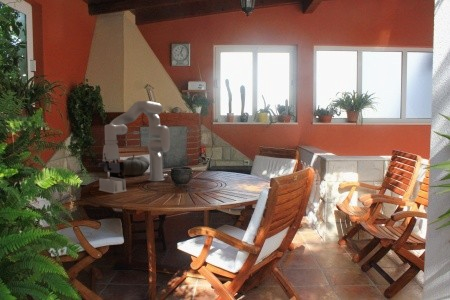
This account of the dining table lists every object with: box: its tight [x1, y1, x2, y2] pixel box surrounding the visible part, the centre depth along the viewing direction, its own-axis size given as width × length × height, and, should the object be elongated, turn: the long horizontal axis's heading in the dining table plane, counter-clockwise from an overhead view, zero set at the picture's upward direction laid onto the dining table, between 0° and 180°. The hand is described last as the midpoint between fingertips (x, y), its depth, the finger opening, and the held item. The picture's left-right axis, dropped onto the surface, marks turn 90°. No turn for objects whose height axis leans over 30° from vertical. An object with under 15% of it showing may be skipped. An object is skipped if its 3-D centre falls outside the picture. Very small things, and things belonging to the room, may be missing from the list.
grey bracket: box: [98, 162, 120, 173], centre depth 274 cm, size 7×14×6 cm, turn 48°
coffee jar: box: [108, 158, 126, 179], centre depth 299 cm, size 11×11×18 cm
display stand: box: [98, 176, 128, 194], centre depth 278 cm, size 10×18×8 cm, turn 48°
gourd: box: [123, 154, 150, 177], centre depth 345 cm, size 25×25×17 cm
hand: (111, 169), depth 276 cm, fingers closed on grey bracket, 3 cm apart
